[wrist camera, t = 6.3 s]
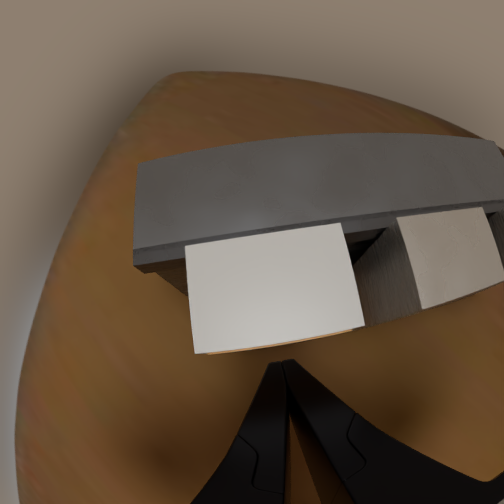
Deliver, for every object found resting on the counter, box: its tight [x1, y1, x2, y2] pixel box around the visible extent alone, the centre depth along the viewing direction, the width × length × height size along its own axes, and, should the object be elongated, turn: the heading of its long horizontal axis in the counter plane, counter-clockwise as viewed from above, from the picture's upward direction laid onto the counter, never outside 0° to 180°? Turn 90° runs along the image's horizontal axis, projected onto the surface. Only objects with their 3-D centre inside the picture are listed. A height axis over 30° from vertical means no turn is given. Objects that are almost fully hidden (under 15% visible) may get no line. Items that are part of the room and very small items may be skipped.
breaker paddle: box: [185, 223, 365, 355], centre depth 12 cm, size 3×4×9 cm
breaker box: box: [133, 133, 504, 333], centre depth 13 cm, size 8×20×9 cm, turn 98°
